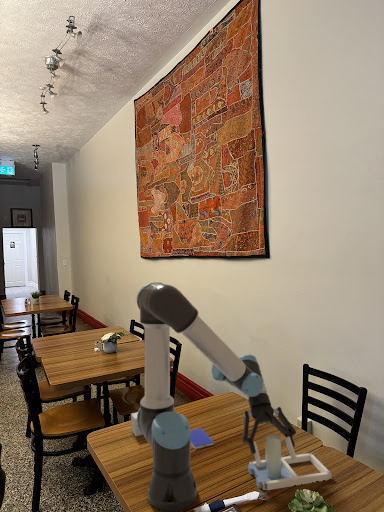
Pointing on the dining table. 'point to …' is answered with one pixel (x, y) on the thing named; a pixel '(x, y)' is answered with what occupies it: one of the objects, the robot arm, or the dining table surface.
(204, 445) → the blue book
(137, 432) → the skincare box
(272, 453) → the pale green cylinder
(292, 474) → the bay rack
